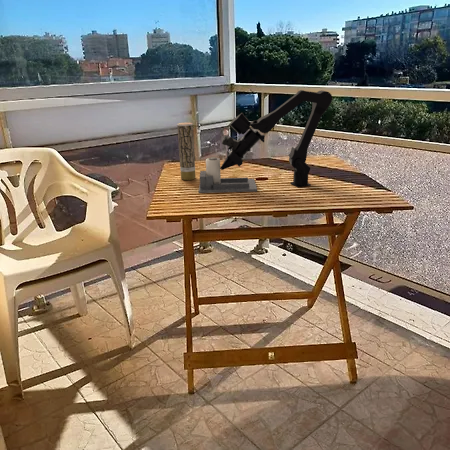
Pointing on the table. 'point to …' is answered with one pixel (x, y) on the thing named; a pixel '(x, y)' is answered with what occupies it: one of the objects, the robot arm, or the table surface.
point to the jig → (226, 184)
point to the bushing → (213, 169)
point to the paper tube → (186, 150)
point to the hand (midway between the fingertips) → (221, 169)
